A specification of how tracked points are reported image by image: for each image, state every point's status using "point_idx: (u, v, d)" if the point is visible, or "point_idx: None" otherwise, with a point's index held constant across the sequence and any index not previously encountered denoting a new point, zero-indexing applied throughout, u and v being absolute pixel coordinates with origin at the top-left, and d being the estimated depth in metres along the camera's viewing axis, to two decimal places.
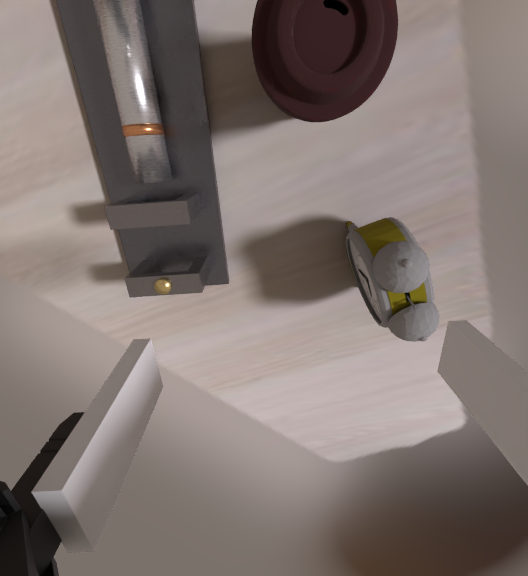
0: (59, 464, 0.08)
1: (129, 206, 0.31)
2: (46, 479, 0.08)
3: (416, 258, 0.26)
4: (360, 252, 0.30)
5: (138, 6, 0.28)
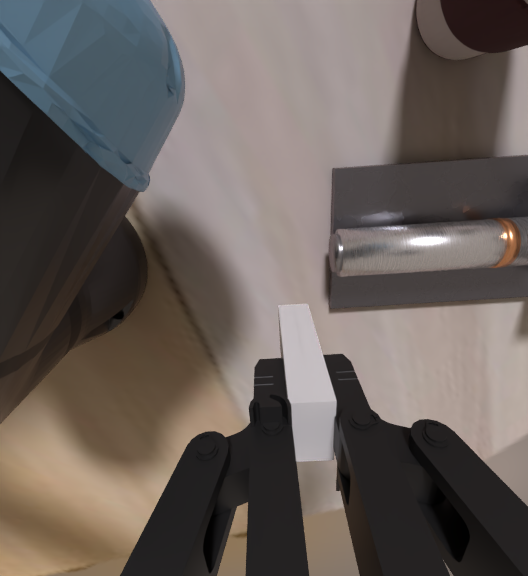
0: (295, 387, 0.10)
1: None
2: (293, 396, 0.10)
3: None
4: None
5: (379, 228, 0.24)
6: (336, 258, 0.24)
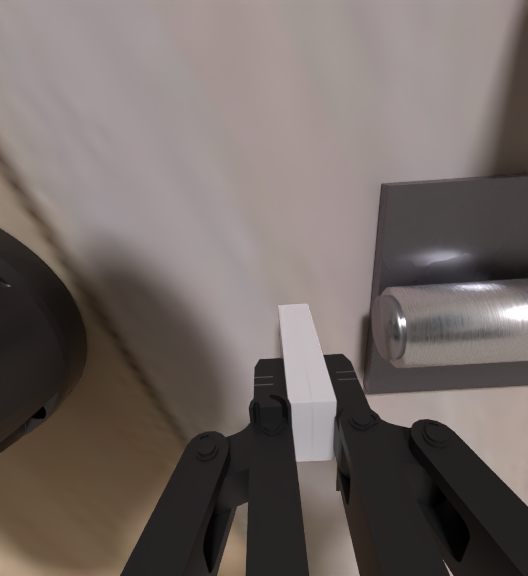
0: (295, 387, 0.10)
1: None
2: (293, 396, 0.10)
3: None
4: None
5: (467, 289, 0.14)
6: (393, 342, 0.14)
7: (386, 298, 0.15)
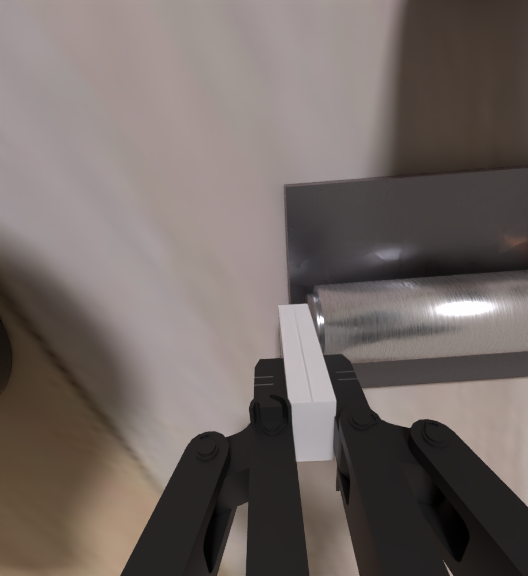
0: (295, 386, 0.10)
1: None
2: (293, 396, 0.10)
3: None
4: None
5: (386, 287, 0.14)
6: None
7: (309, 296, 0.15)
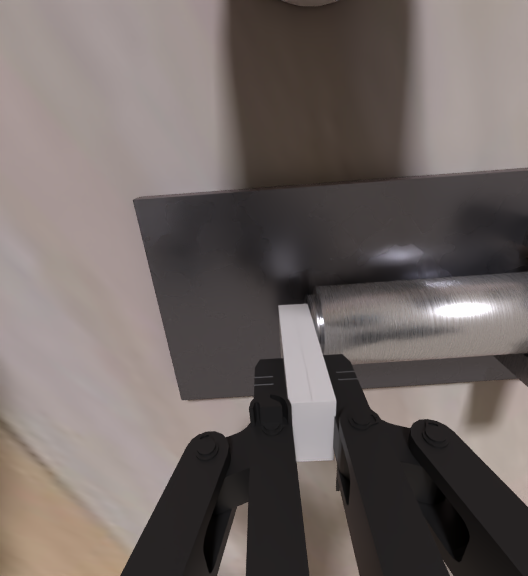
0: (295, 387, 0.10)
1: None
2: (293, 396, 0.10)
3: None
4: None
5: (386, 288, 0.14)
6: None
7: (309, 297, 0.15)
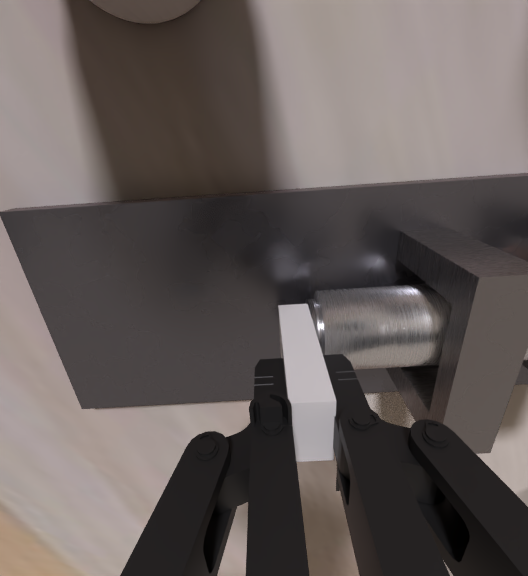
0: (295, 387, 0.10)
1: (449, 412, 0.12)
2: (293, 396, 0.10)
3: None
4: None
5: (387, 293, 0.14)
6: None
7: (309, 302, 0.15)
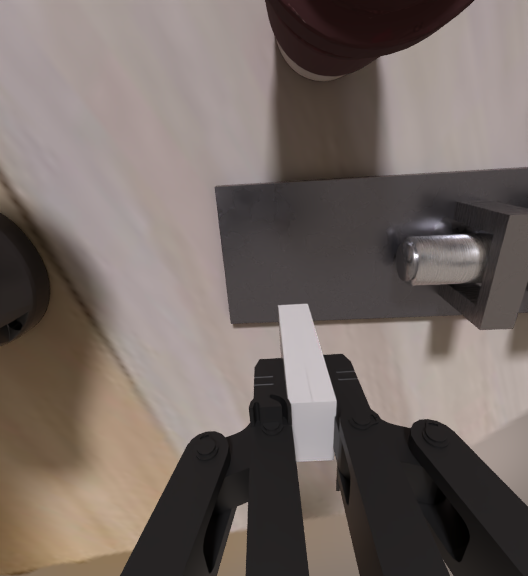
0: (295, 386, 0.10)
1: (490, 298, 0.22)
2: (293, 396, 0.10)
3: None
4: None
5: (455, 236, 0.24)
6: (410, 266, 0.24)
7: (406, 242, 0.24)
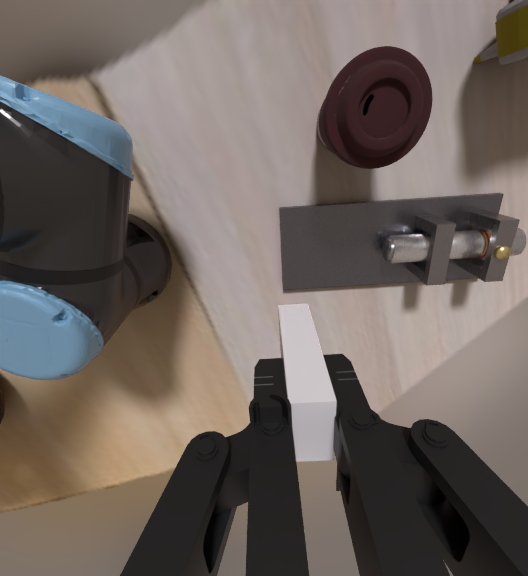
0: (295, 387, 0.10)
1: (431, 268, 0.42)
2: (293, 396, 0.10)
3: None
4: None
5: (414, 235, 0.43)
6: (390, 252, 0.43)
7: (387, 238, 0.44)
